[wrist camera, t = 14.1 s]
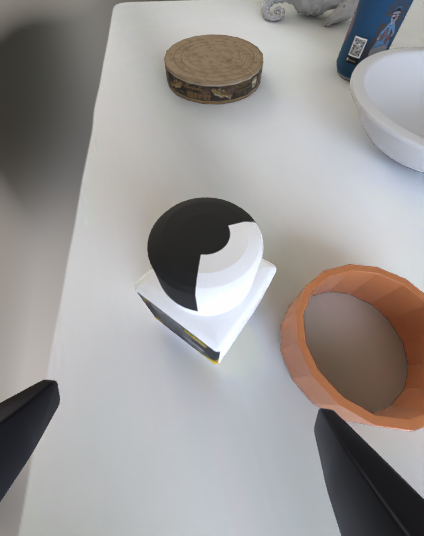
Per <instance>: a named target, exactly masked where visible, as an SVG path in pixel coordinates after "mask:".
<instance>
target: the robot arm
mask: <svg viewBox="0 0 424 536" xmlns="http://www.w3.org/2000/svg"><path fill="white" fill-rule="evenodd" d="M59 403H60V395H59V389H58V383H57V382H56V381H54V380H42V381H40V382H38V383H36V384H35V385H33V386H31V387H29V388H27V389H25V390H23V391H22V392H20V393H18V394H16V395H14V396H12V397H11V398H9V399H7V400H5V401H3V402H1V403H0V501H1V500H2V498H3V497H4V496H5V494H6V493H7V491H8V489H9V488H10V486H11V485H12V483H13V482H14V480H15V479H16V477H17V476H18V474H19V473H20V471H21V470H22V468H23V467H24V465H25V464H26V462H27V461H28V459H29V458H30V456H31V454H32V453H33V451H34V449H35V448H36V446H37V444H38V442H39V440H40V439H41V437H42V435H43V433H44V431H45V429H46V428H47V426H48V424H49V422H50V420H51V419H52V417H53V415H54V413H55V411H56V410H57V408H58V406H59ZM314 432H315V438H316V442H317V447H318V451H319V456H320V460H321V465H322V469H323V474H324V478H325V483H326V487H327V491H328V494H329V498H330V501H331V504H332V507H333V511H334V514H335V517H336V520H337V523H338V526H339V530H340V533H341V536H424V499H423V498H422V497H421V496H420V495H419V494H418V493H417V492H416V491H415V490H414V489H413V488H412V487H411V486H410V485H409V484H408V483H407V482H406V481H405V480H404V479H403V478H402V477H401V476H400V475H399V474H398V473H397V472H396V471H395V470H394V469H393V468H392V467H391V466H390V465H389V464H388V463H387V462H386V461H385V460H384V459H383V458H382V457H381V456H380V455H379V454H378V453H377V452H376V451H375V450H374V449H373V448H372V447H370V446H369V445H368V444H367V443H366V442H365V441H364V440H363V439H362V438H361V437H360V436H359V435H358V434H357V433H356V432H355V431H354V430H353V429H352V428H351V427H350V426H349V425H348V424H347V423H346V422H345V421H344V420H343V419H342V418H341V417H340V416H339V415H338V414H337V413H336V412H335V411H334V410H332V409H325V408H320V409H319V411H318V415H317V419H316V423H315V427H314Z"/></svg>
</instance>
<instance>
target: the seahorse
mask: <svg viewBox="0 0 424 536" xmlns="http://www.w3.org/2000/svg"><path fill="white" fill-rule="evenodd" d="M279 2H280V3H283V2H287V3H289V4H292V5H293V6H294V7H295V9H296V10H297V12H298V13H305V14H306V16H308V15H313V16H318V15H322V14H323V13H324V12H325V11H327V10H331V9H335V10H334V11H333V12H332V13H331V14H330V15H329V16H328V17H327V18H326V20H325V26H328V27H329V26H330V25H331V24H333V23H336V22H340V21H343V20H346V19H350V18H351V17H353V14H354V13H355V10H356V8H357V5H358V2H359V0H264V1H263V4H262V9H261V11H262V14H263V16H264V17H265V18H266V19H267V20H269V21H276V20H280V19H281V18H283V17H284V13H285V12H284V11H285V9H284V8H281V7H280V6H279V7H277V8H275V10H274V13H275V14H277V11H278V12H279V11H280V14H278V15H277V16H275V15H272V14H271V13H270V7H271V6H272V5H273V4H275V3H276V4H277V3H279Z"/></svg>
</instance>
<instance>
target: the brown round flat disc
mask: <svg viewBox="0 0 424 536" xmlns="http://www.w3.org/2000/svg"><path fill="white" fill-rule="evenodd" d="M164 60H165V67H166V74H167V81H168V84H169V87H170V88H171V89H172V90H173V91H174V92H175V93H176V94H177V95H179V96H181V97H183V98H185V99H187V100H189V101H194V102H198V103H203V104H223V103H230V102H235V101H238V100H240V99H243V98H246V97H248V96H249V95H250V94H252V93H253V92H254V91H256V89H257V87H258V86H259V84H260V79H261V72H262V66H263V54H262V52H261V51H260V50H259V48H258V47H257V46H255V45H253V44H252V43H250V42H249V41H246V40H243V39H240V38H238V37H232V36H227V35H201V36H194V37H191V38H187V39H184V40H181V41H179V42H178V43H176V44H174V45H172V46H171V47H170V48H169V49H168V50H167V51H166V55H165V58H164Z"/></svg>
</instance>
